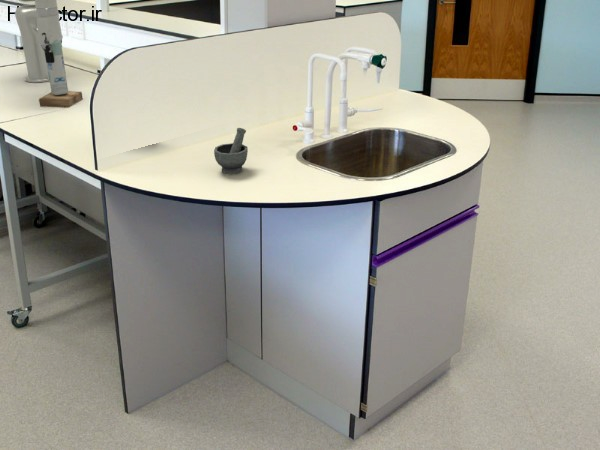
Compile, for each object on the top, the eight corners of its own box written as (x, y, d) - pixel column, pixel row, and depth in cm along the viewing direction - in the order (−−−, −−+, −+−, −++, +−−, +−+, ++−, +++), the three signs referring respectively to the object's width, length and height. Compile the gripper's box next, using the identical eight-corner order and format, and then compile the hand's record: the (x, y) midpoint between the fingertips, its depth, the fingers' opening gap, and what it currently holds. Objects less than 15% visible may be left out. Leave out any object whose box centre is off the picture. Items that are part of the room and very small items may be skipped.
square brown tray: (54, 98, 285) (53, 90, 284) (82, 99, 283) (81, 91, 282) (40, 106, 274) (38, 98, 273) (69, 107, 272) (68, 99, 271)
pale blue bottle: (70, 93, 276) (62, 41, 268) (53, 95, 273) (45, 43, 265) (66, 89, 281) (58, 38, 273) (49, 92, 278) (40, 40, 270)
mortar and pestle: (233, 179, 203) (230, 139, 197) (208, 172, 208) (206, 133, 202) (258, 167, 211) (256, 128, 206) (234, 161, 216) (232, 123, 211)
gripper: (48, 8, 272) (56, 55, 280) (26, 15, 257) (34, 65, 265) (67, 8, 271) (74, 55, 279) (45, 16, 256) (53, 66, 264)
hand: (54, 60), depth 272 cm, fingers closed on pale blue bottle, 6 cm apart
